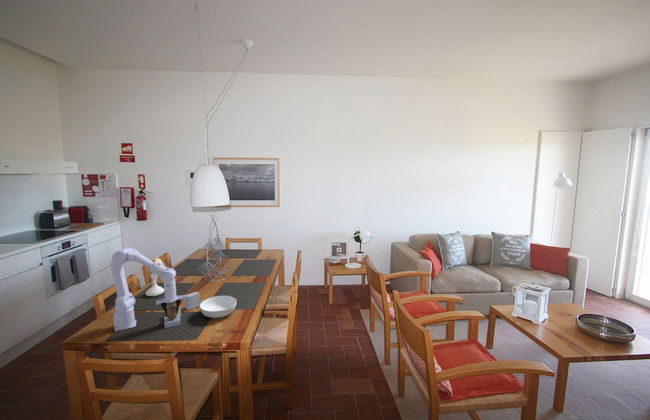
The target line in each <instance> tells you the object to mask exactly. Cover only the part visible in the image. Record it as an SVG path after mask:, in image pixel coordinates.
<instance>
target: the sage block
mask: <svg viewBox="0 0 650 420" xmlns="http://www.w3.org/2000/svg"><path fill="white" fill-rule="evenodd" d="M181 307H182V306H179V309H178V313H177V315H178V314H180V317H181V316H182V308H181Z"/></svg>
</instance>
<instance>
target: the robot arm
mask: <svg viewBox="0 0 650 420" xmlns="http://www.w3.org/2000/svg"><path fill="white" fill-rule="evenodd" d="M127 262H128V263H129V262H137V263H139V264H141V265H143V266H145V267H147V268H148V269H149V272H150V273H151V272H153V273H152V274H156V275H157V277H160V278H161V281H162V282H163V289H164V292H163V293H164V297H163V298H160V299H158V300H155V305H156V306H158V305H160V306H161V308H162V309H163V311H164V313H165V317H168V315H167V307H168V306H167V304H168V303H174V302H175V305H176V312H177V313H178V309H179V306H180V305H181V304H182V303H181V302H182V300H183V301H185V295H186V294H184V295H177V287H176V278H175V277H176V276H177V271H176V270H175V269H174V268H173V267H171V268H170V267H168V266H167V267H166V266H165V265H164V264H163V265H162V264H161V263H160V262H159V263H158V262H155V261H152V260H150V259H149V258H148V257H146V256H144V255H143V254H141V253H140V252H139V251H138V250H137V249H135V248H133V247H132V246H126V247H124V248H122V249H120V250H117V251H115V253H113V254H112V255H111V262H110V264H109V265H110V270H111V274H112V278H113V279H112V280H113V282H114V287H115V291H116V297H115V298H116V299H115V300H114V301H115V306H114V310H115V312H113V326H114V332H119V331H123V330H127V329H128V330H129V329H131V328H135V327H137V326H136V325H137V319H136V318H135V307H134V305H135V304H136V298H135V297H134V296H133V293H132V292H130V291H129V290H130V289H129V286H128V282H127V277H126V272H125V268H124V264H125V263H127ZM180 307H181V306H180Z"/></svg>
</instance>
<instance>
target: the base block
mask: <svg viewBox="0 0 650 420" xmlns="http://www.w3.org/2000/svg"><path fill="white" fill-rule="evenodd" d="M163 321H164V325H163V326H164V329H168V328H169V329H170V328H173V327H177V326H181V324H182V322H181V321H182V320H181V316H180V314H178V315H177V318H173V319H169V320H168V316H164V318H163Z"/></svg>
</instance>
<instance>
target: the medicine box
mask: <svg viewBox="0 0 650 420" xmlns="http://www.w3.org/2000/svg"><path fill="white" fill-rule="evenodd" d="M184 295H185V300H184V308H185V310H187V311H190V310H194V309H197V308H198V307H199V308H200V304H201V294H200V293H199V292H198V291H194V292H192V293H188V294H184Z"/></svg>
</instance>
